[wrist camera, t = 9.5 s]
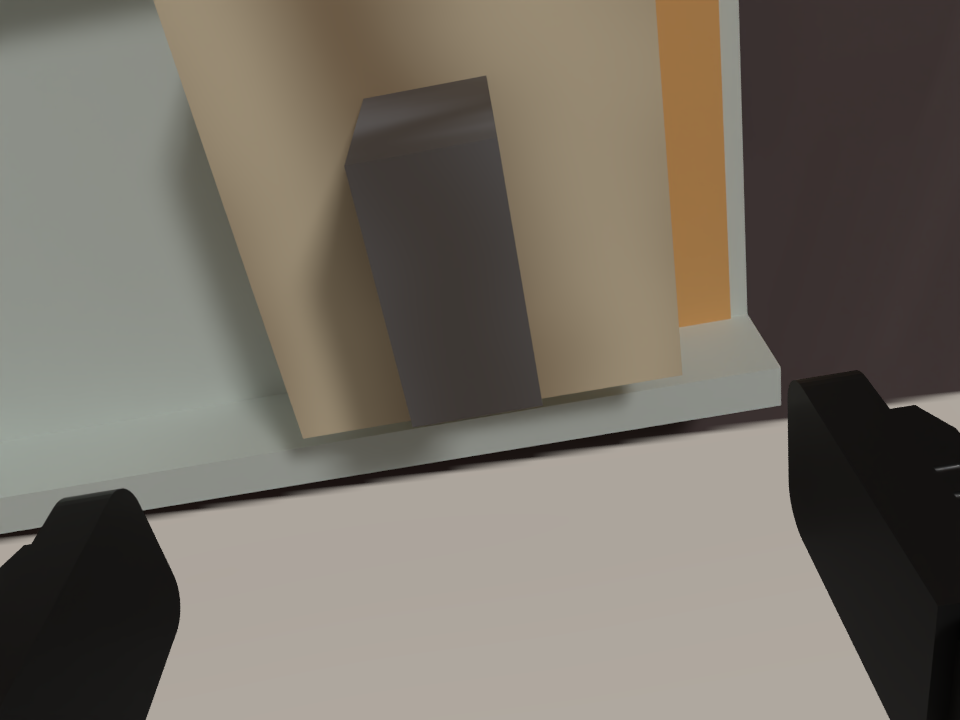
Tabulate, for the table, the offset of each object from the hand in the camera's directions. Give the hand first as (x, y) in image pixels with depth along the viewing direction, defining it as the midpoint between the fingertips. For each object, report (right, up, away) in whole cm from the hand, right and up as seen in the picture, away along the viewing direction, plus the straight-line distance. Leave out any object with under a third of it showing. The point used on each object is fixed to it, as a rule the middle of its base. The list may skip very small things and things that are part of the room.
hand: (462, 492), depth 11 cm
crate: (-1, +7, +12) cm, 14 cm away
